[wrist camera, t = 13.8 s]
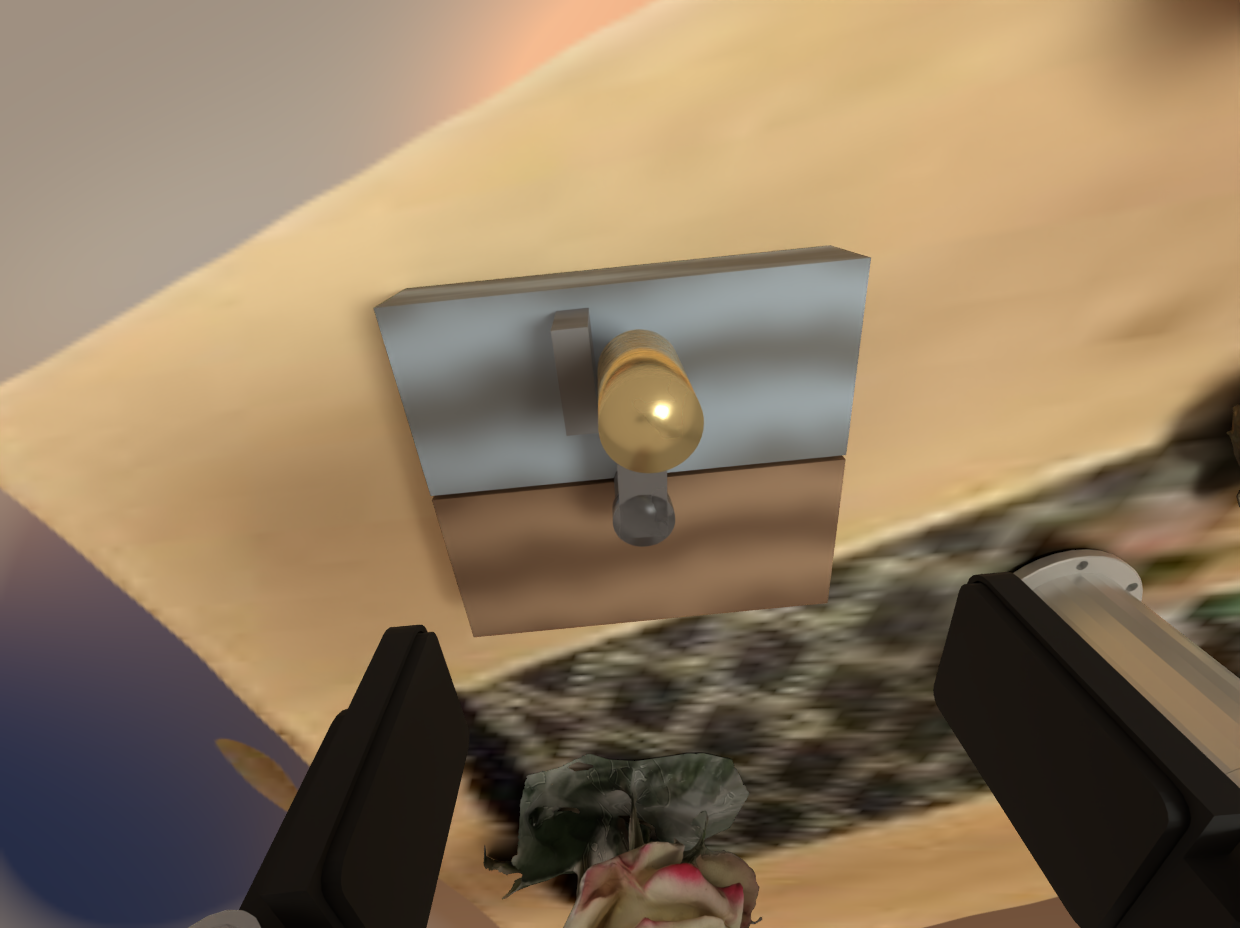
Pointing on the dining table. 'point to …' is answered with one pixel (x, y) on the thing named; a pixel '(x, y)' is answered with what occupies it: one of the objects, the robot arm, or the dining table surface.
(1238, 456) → the mineral specimen
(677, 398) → the switch lever
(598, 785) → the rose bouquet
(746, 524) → the lever switch panel
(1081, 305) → the dining table surface
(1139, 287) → the dining table surface
